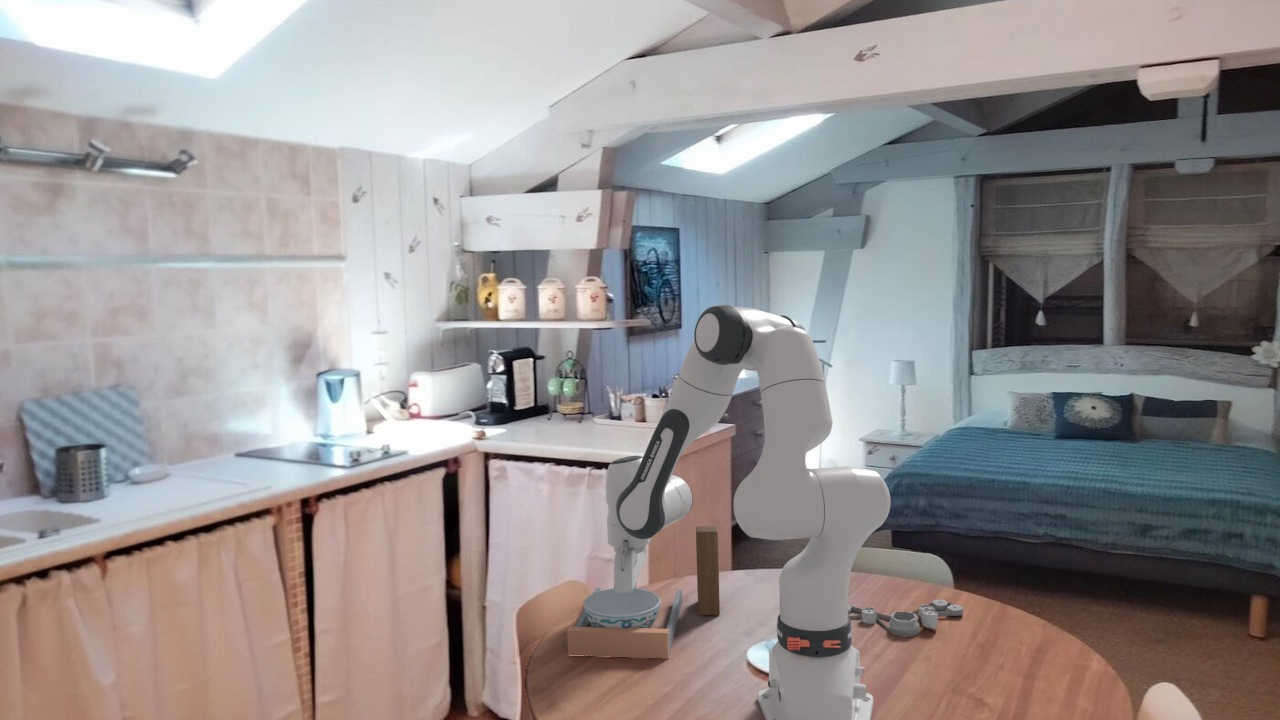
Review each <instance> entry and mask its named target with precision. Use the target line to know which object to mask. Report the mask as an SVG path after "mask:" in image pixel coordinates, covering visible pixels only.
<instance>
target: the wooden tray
mask: <svg viewBox="0 0 1280 720" xmlns="http://www.w3.org/2000/svg"><path fill="white" fill-rule="evenodd" d="M599 591H601V587H595V588H594V590H593V592H592V594H594V593H596V592H599ZM682 604H683V589H682V588H678V589H676V593H675V596H674V599H673V604H672V607H671V611H670V614H669V615H670V616H669V619H668V621H667V622H668V623H667V626H666V628H652V627H650V628H607V627H593V626H588V624H589V620H588V618H587V615H586V612H585V608H584V609H583V611H582V613H581V615H580V616H579V618H578V621H577V623H576V624H575V626H569V627H568V629H567V633H566V635H567V636H566V637H567V654H568V655H584V656H585V655H587V656H588V655H589V656H591V655H592V656H611V657H629V658H628V659H648V658H662V659H661V660H668V658H670V654H671V650H672V647H673V646H672V645H673V643H674V642H673V641H674V638H675V634H676V630H677V625H678V621H679V618H680V614H679V613H681V610H680V609H682V606H681V605H682ZM678 617H679V618H678ZM589 625H590V624H589ZM587 626H588V627H587ZM568 655H567V656H568Z"/></svg>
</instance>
